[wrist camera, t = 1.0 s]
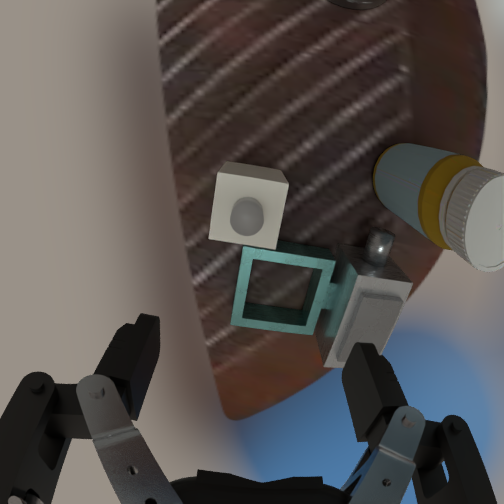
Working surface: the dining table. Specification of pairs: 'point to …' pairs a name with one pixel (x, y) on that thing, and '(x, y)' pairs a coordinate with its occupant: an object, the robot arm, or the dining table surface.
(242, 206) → the white cube with peg
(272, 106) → the dining table surface
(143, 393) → the robot arm
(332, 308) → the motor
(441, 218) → the bottle
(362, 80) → the dining table surface
